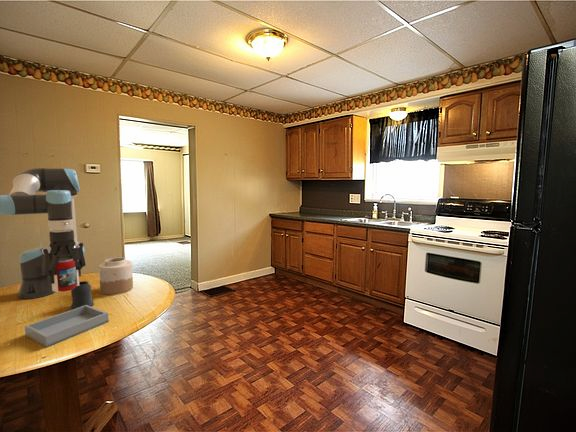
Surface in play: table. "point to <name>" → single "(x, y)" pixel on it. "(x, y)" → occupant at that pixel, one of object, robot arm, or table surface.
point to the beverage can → (66, 274)
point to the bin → (66, 325)
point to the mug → (81, 295)
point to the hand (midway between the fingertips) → (66, 287)
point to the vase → (115, 276)
